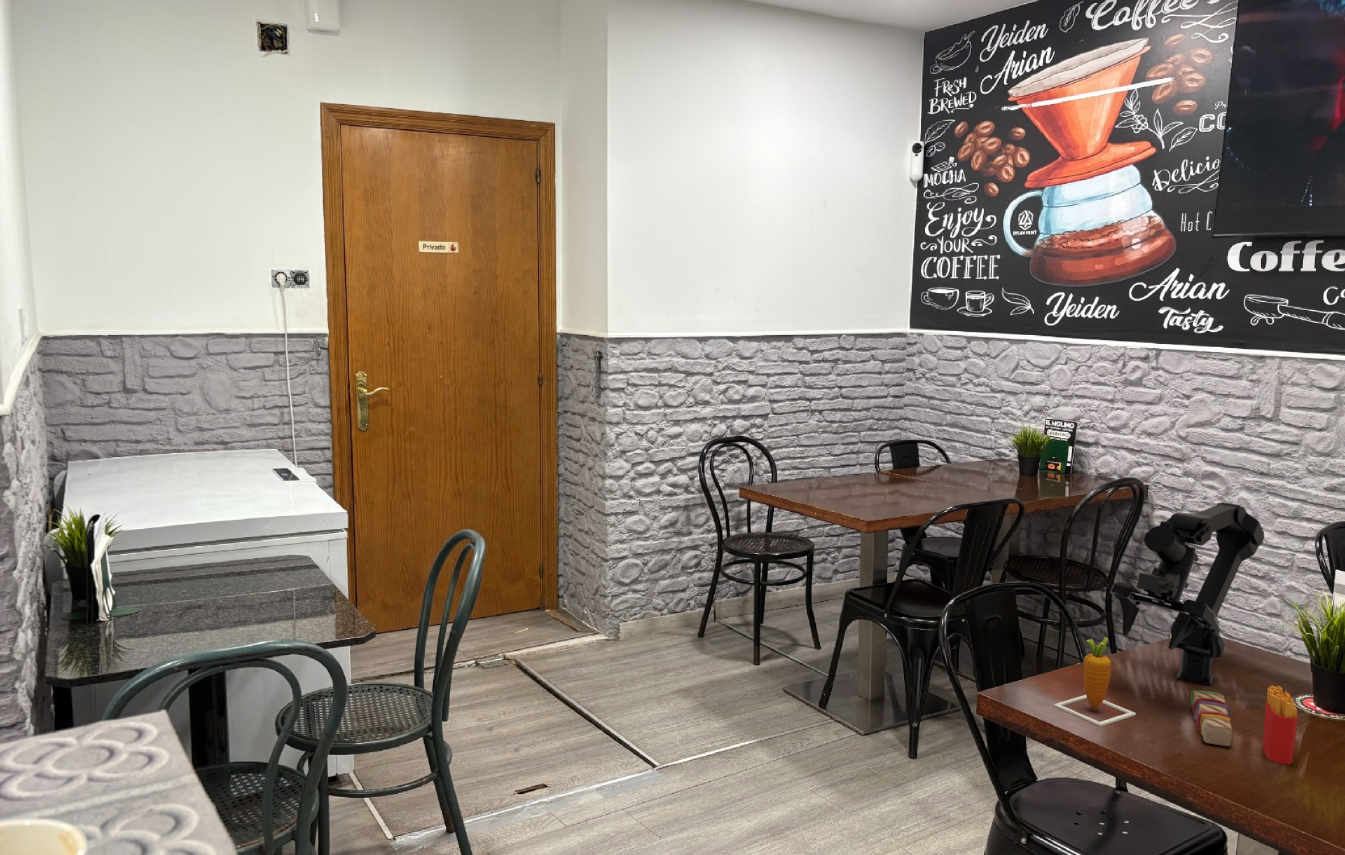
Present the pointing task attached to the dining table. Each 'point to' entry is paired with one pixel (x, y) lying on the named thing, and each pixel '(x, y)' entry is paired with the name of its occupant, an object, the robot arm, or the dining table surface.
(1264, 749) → the french fries
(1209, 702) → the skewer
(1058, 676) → the dining table surface
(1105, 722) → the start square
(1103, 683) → the carrot
